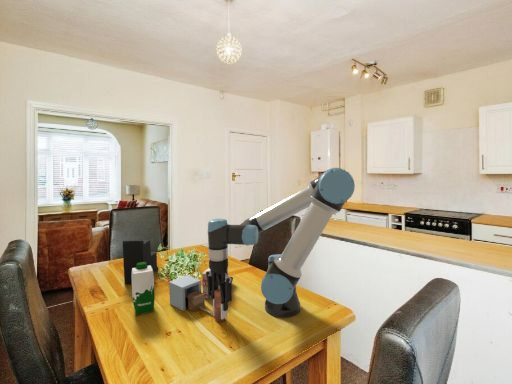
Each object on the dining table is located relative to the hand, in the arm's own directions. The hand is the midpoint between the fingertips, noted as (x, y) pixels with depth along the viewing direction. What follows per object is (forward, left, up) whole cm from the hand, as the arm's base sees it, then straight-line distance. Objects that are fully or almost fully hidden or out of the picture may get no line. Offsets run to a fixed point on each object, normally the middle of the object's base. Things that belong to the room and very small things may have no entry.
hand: (220, 315), depth 110 cm
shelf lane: (+23, 0, -2) cm, 23 cm away
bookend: (+70, -4, -2) cm, 71 cm away
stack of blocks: (+23, -18, -2) cm, 30 cm away
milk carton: (+32, +15, -2) cm, 35 cm away
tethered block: (+8, 0, -2) cm, 8 cm away
